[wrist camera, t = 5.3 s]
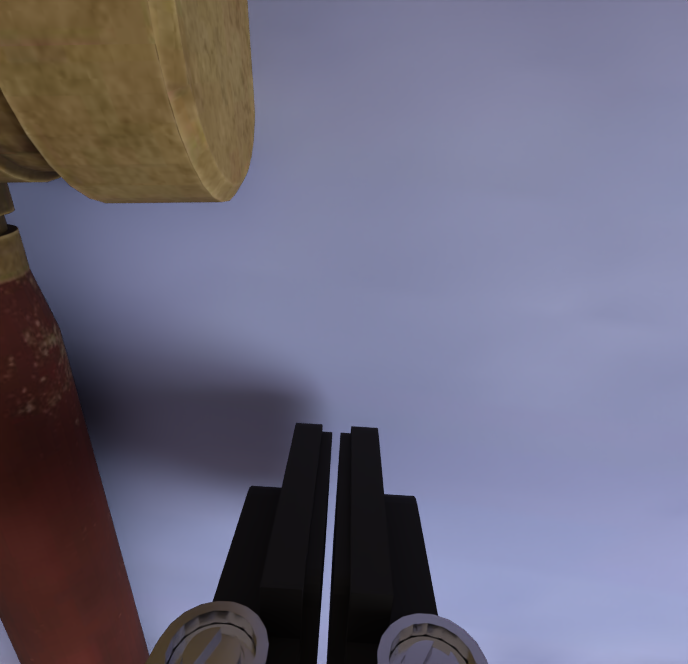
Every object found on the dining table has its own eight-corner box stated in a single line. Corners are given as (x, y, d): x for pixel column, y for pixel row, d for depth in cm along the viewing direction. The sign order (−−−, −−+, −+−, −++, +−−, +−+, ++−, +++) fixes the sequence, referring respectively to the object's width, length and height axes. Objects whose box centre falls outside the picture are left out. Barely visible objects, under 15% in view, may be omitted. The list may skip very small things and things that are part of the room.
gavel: (285, 879, 12) (-103, 872, 12) (302, 684, 16) (14, 681, 16) (115, -375, 4) (-1122, -334, 4) (243, -106, 8) (-348, -93, 8)
